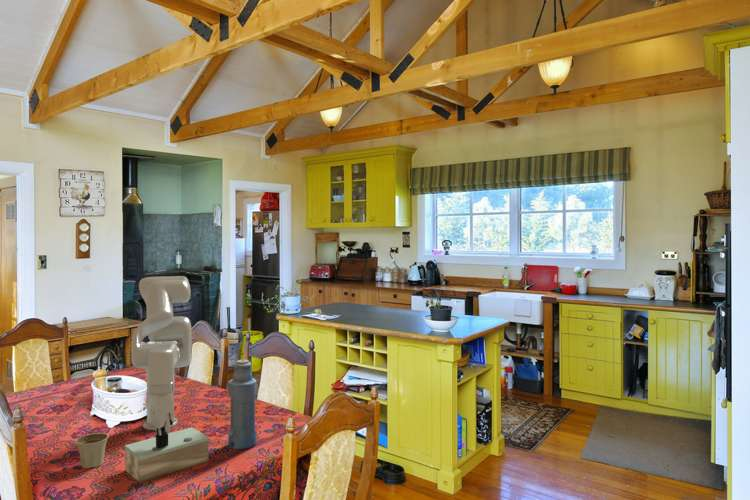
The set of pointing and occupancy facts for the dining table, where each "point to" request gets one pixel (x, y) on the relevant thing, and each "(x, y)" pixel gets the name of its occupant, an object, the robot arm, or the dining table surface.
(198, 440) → the lid
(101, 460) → the flower pot
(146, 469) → the box
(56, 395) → the dining table surface
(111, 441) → the dining table surface
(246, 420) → the bottle
